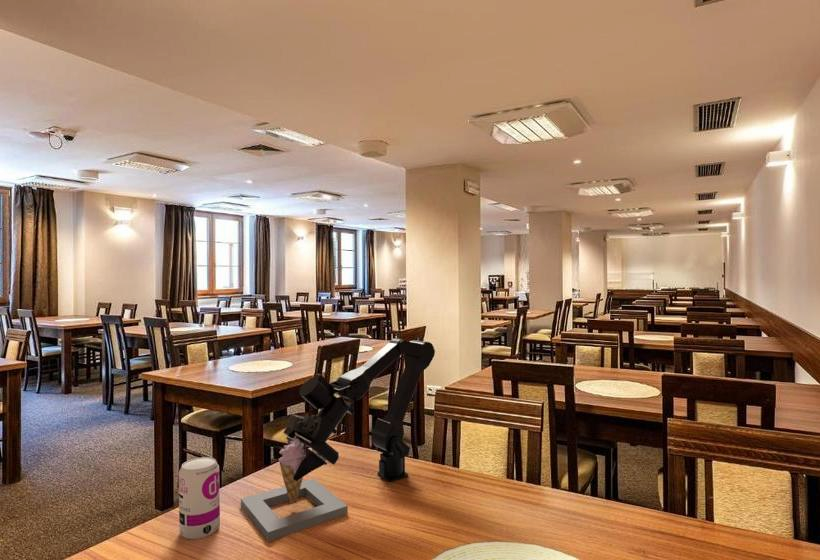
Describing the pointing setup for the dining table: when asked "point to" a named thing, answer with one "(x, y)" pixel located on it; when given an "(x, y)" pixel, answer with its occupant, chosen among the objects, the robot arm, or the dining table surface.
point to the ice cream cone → (292, 468)
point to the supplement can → (199, 498)
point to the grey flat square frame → (277, 528)
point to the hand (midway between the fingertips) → (288, 475)
